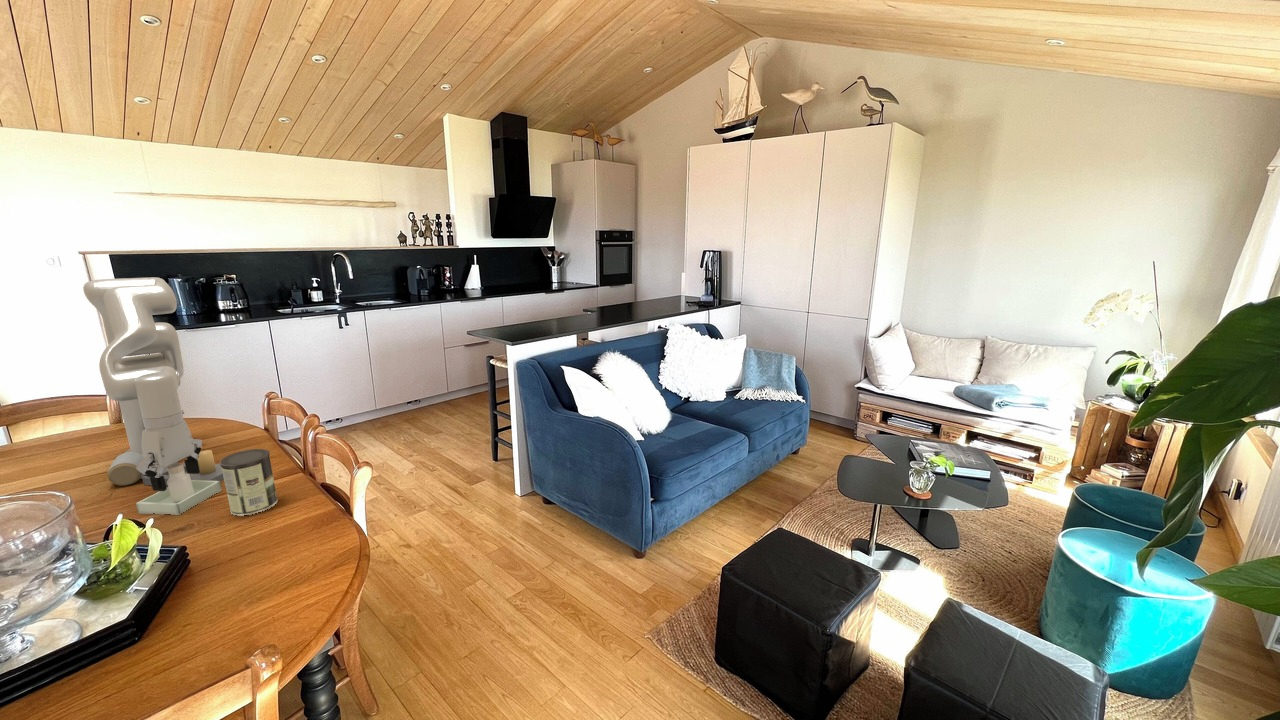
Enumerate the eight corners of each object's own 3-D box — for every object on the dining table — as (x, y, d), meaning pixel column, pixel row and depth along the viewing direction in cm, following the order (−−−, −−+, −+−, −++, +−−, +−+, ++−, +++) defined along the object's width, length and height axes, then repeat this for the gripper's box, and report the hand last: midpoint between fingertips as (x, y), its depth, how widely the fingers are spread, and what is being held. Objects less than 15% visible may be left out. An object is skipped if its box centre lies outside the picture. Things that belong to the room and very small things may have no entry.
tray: (184, 489, 146) (182, 479, 145) (221, 490, 145) (219, 480, 144) (138, 513, 133) (135, 503, 132) (179, 515, 132) (176, 504, 132)
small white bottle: (191, 499, 138) (182, 466, 136) (171, 503, 137) (162, 470, 134) (195, 493, 142) (186, 461, 140) (176, 497, 140) (167, 464, 138)
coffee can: (259, 494, 143) (251, 446, 140) (287, 500, 140) (278, 451, 137) (219, 512, 134) (209, 461, 131) (248, 519, 131) (238, 468, 127)
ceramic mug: (108, 490, 145) (102, 464, 143) (116, 478, 151) (111, 454, 150) (159, 481, 151) (154, 456, 149) (164, 470, 157) (160, 446, 155)
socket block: (176, 469, 158) (170, 444, 156) (239, 471, 156) (234, 446, 155) (144, 485, 148) (137, 458, 146) (211, 487, 147) (205, 460, 145)
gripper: (180, 409, 142) (193, 466, 146) (115, 432, 125) (131, 497, 129) (206, 409, 142) (218, 467, 146) (144, 433, 125) (159, 498, 129)
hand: (177, 481), depth 138 cm, fingers open, 9 cm apart
